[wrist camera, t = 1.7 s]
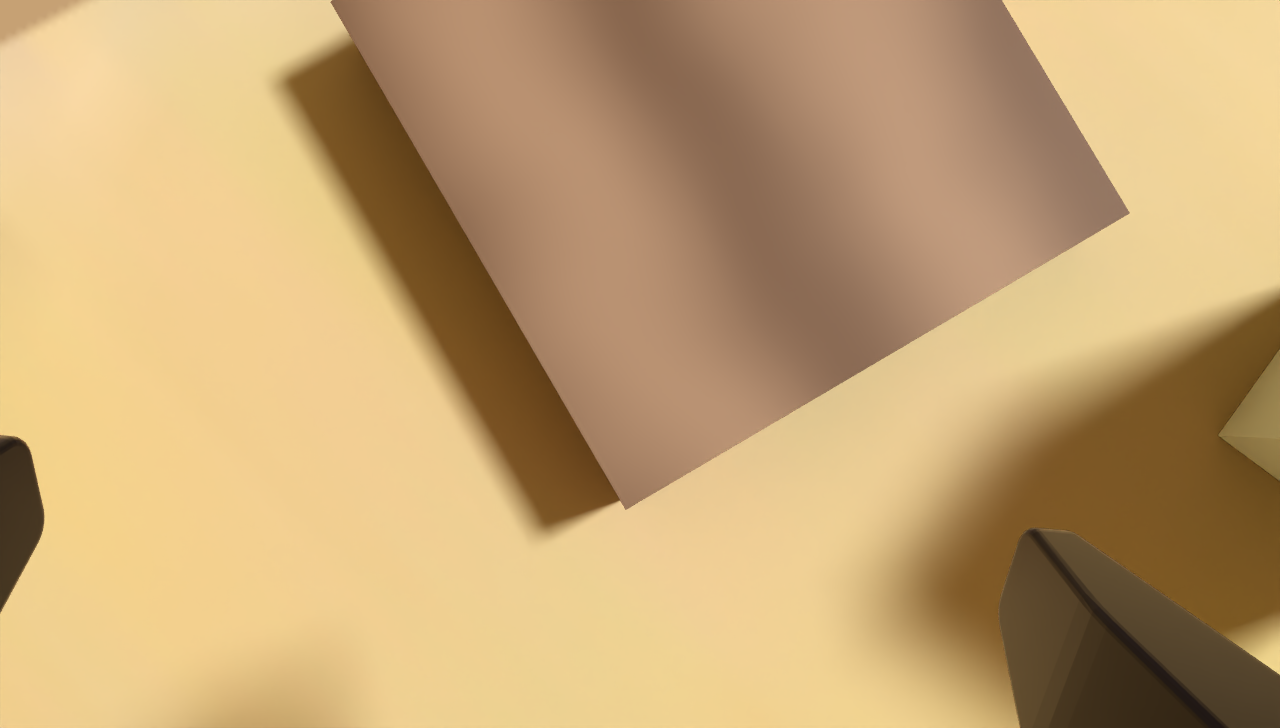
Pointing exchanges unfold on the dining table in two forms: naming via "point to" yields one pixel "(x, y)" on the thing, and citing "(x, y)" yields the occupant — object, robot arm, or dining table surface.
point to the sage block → (1259, 421)
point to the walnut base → (731, 191)
